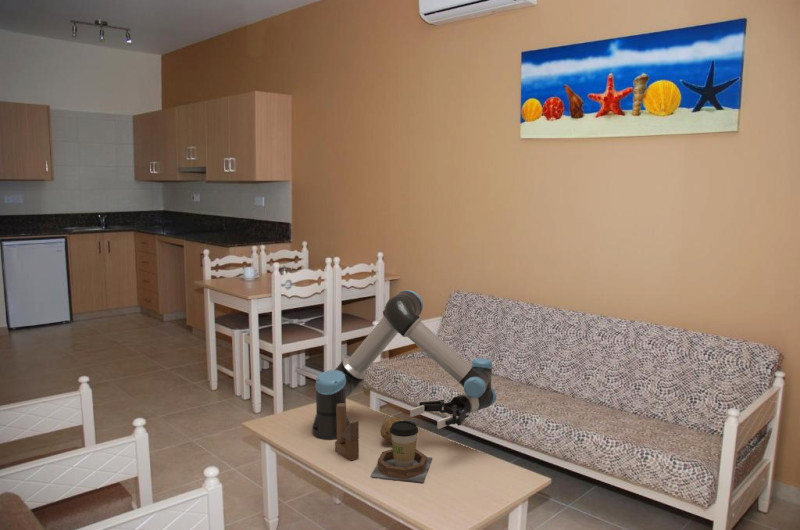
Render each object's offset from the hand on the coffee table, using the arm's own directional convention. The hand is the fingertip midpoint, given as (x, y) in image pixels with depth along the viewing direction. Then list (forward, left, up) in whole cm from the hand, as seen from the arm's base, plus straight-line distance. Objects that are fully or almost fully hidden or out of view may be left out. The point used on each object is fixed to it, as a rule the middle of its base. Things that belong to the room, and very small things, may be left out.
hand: (423, 419), depth 214 cm
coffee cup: (+8, -6, -15) cm, 18 cm away
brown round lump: (-11, -14, -15) cm, 24 cm away
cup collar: (+8, -6, -15) cm, 18 cm away
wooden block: (+2, -28, -15) cm, 32 cm away
